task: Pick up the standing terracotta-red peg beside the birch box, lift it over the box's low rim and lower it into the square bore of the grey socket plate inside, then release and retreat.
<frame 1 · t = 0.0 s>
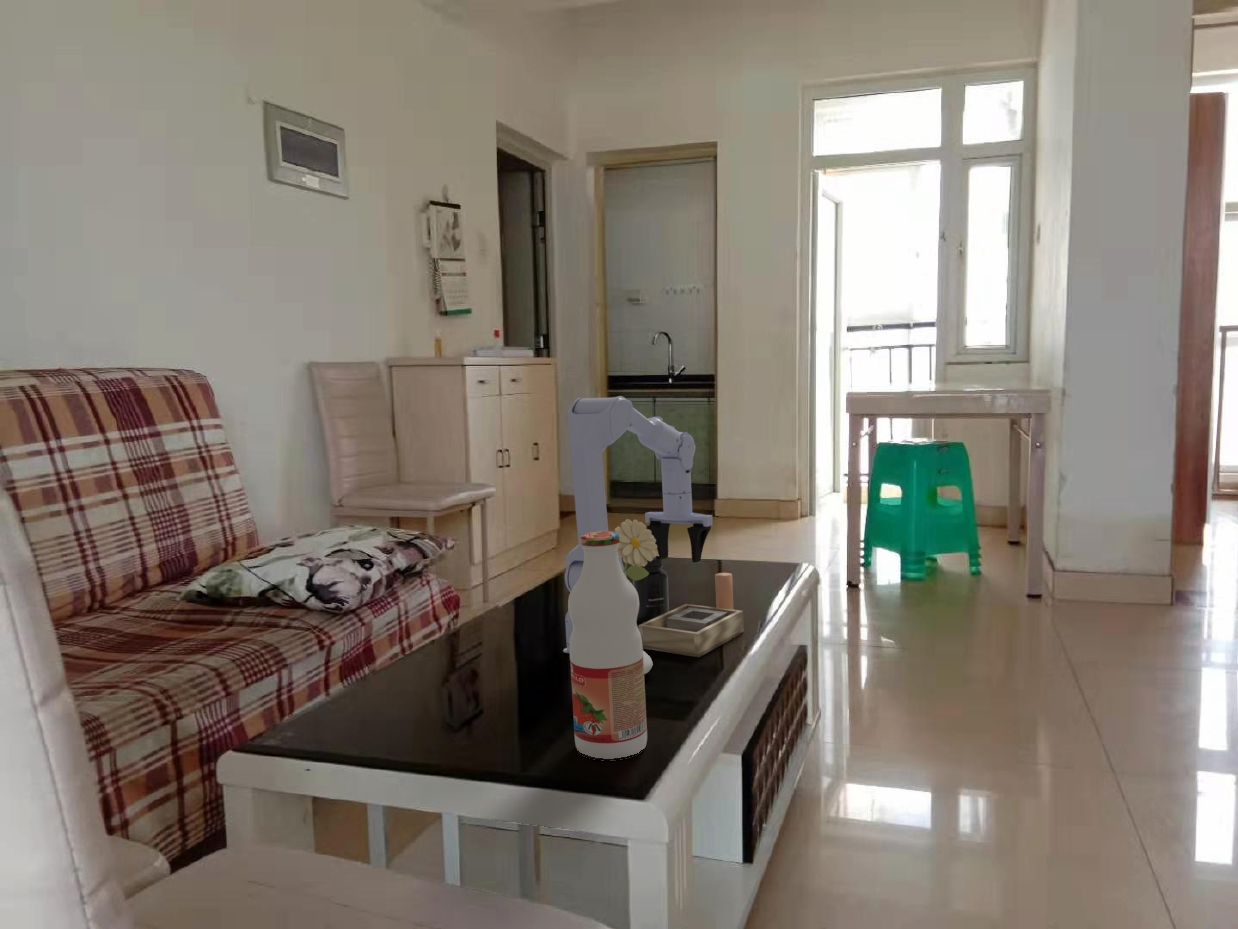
hand: (680, 559, 185), 10 cm above the table, tool pointing down, fingers open, 7 cm apart
box: (692, 640, 165), on the table
peg: (725, 621, 176), on the table
fruit juice: (611, 748, 121), on the table
flower in vase: (622, 676, 149), on the table
supplement bottle: (652, 619, 181), on the table
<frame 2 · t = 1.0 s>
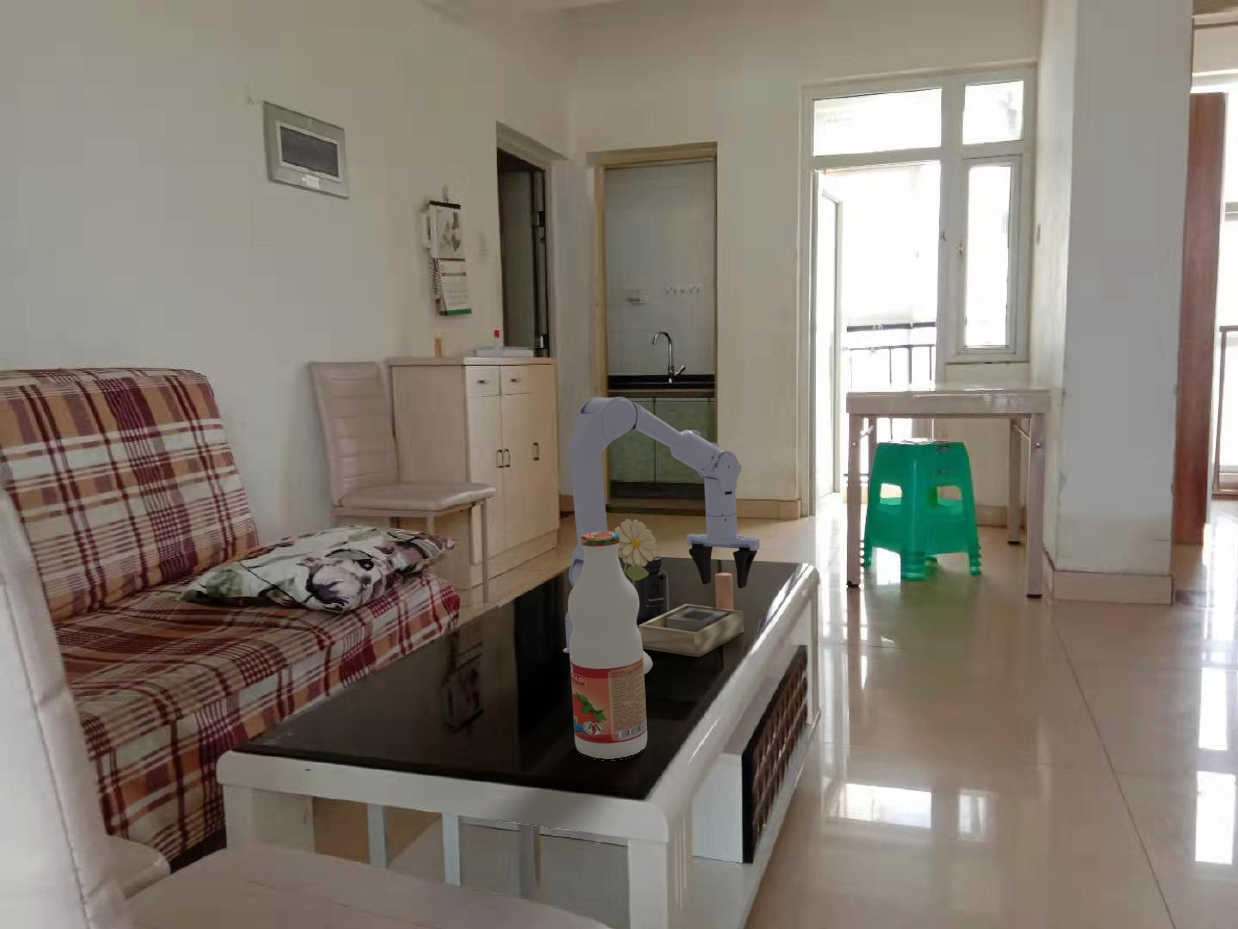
hand: (724, 585, 175), 7 cm above the table, tool pointing down, fingers open, 7 cm apart
nothing on the table moved.
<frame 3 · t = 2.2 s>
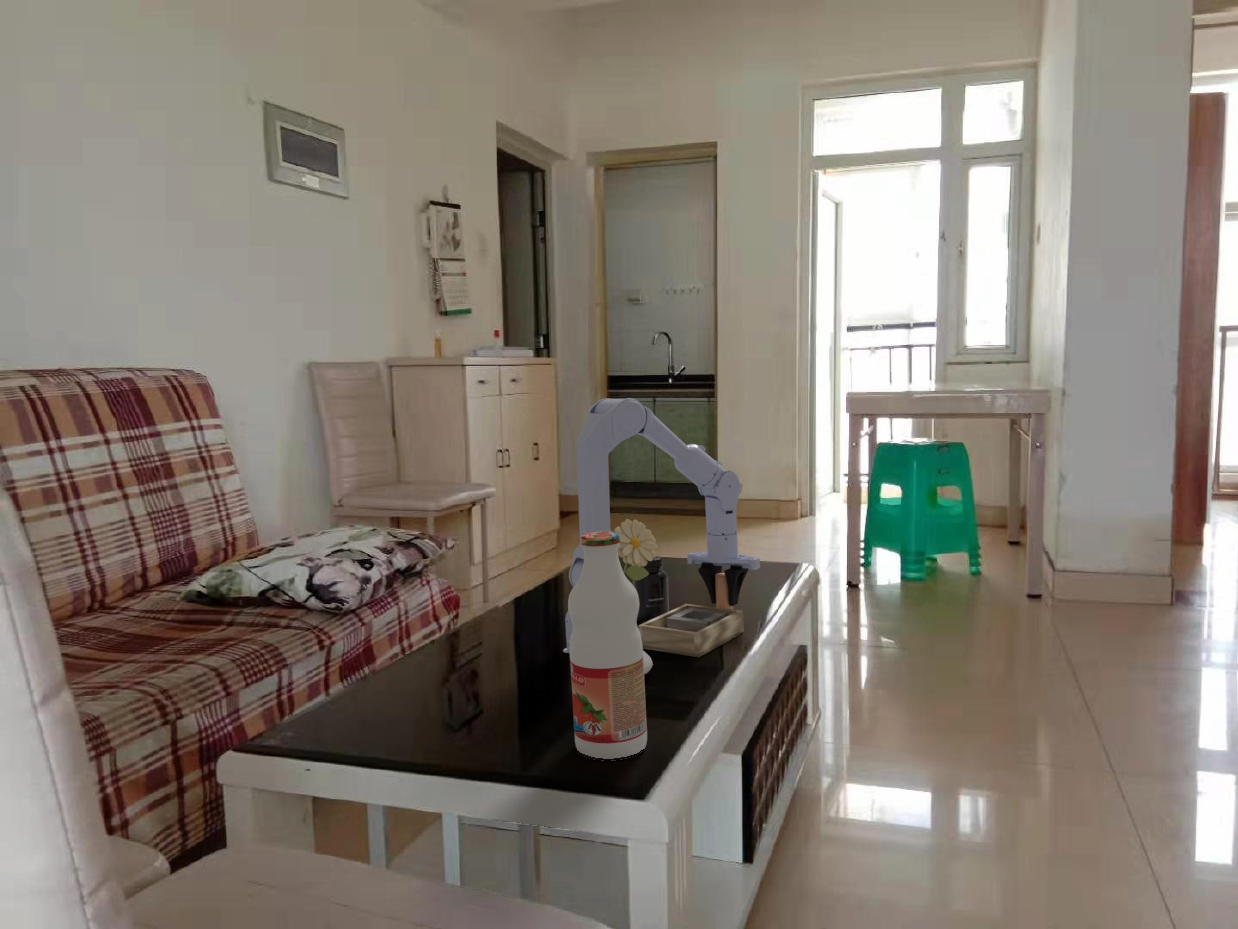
hand: (724, 603, 176), 3 cm above the table, tool pointing down, fingers closed on peg, 3 cm apart
peg: (725, 621, 176), on the table, touching gripper
everything else where it was.
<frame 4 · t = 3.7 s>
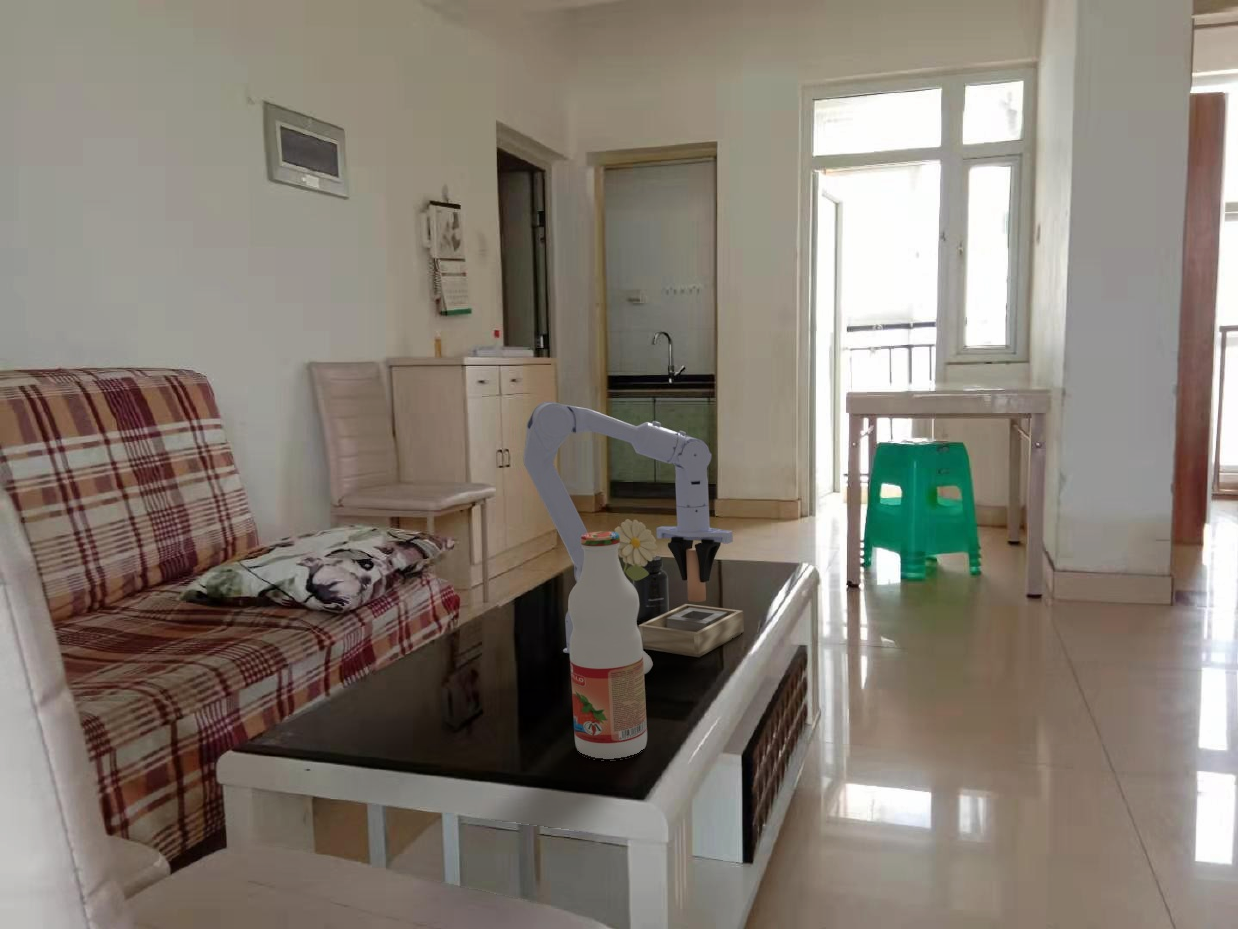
hand: (695, 580, 166), 10 cm above the table, tool pointing down, fingers closed on peg, 3 cm apart
peg: (696, 599, 166), point 7 cm above the table, touching gripper
everything else where it was.
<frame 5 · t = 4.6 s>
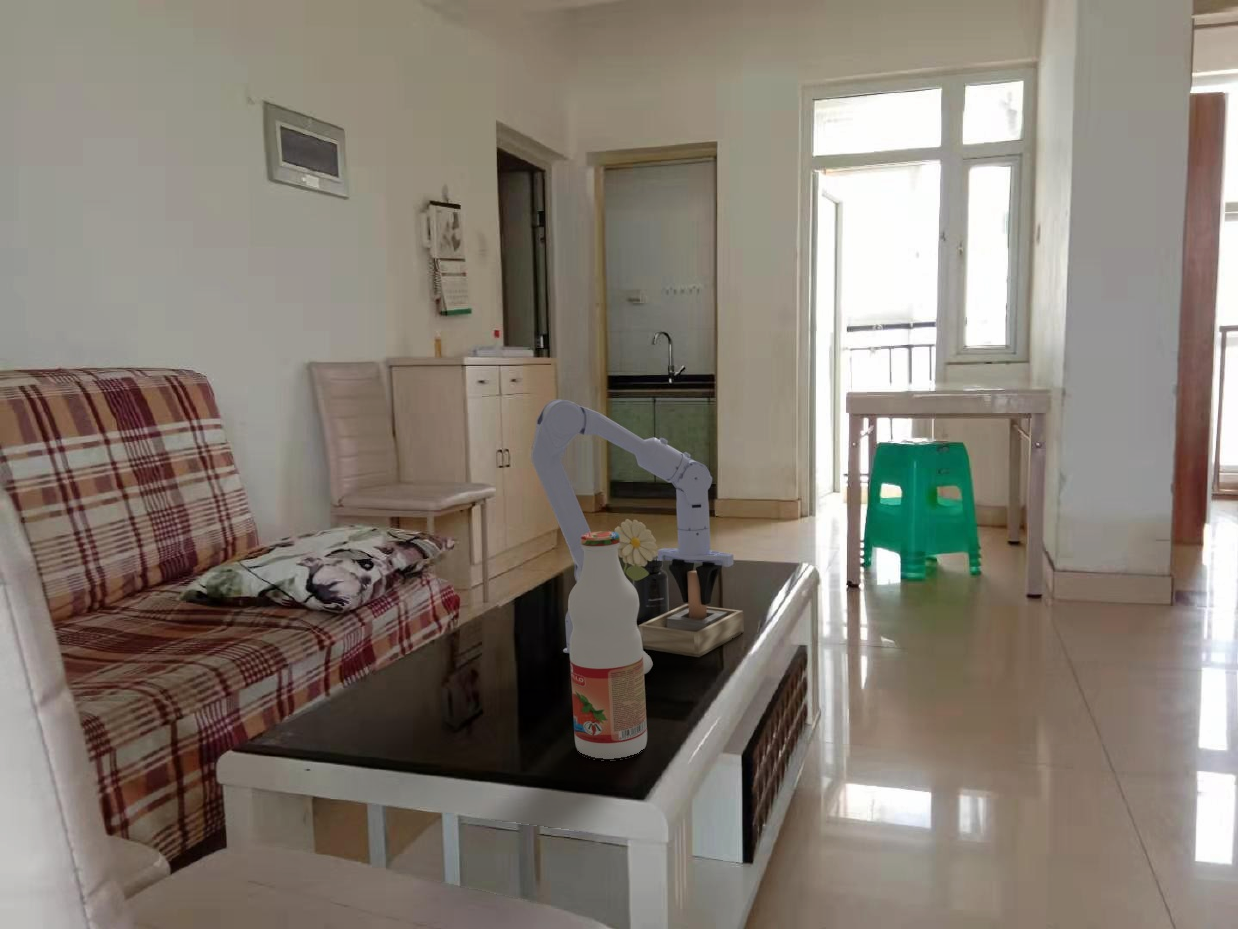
hand: (696, 602, 166), 6 cm above the table, tool pointing down, fingers closed on peg, 3 cm apart
peg: (698, 621, 167), point 3 cm above the table, touching gripper
everything else where it was.
when the fingers open (5 cm above the table, at t = 5.3 s): peg stays where it is, resting on box.
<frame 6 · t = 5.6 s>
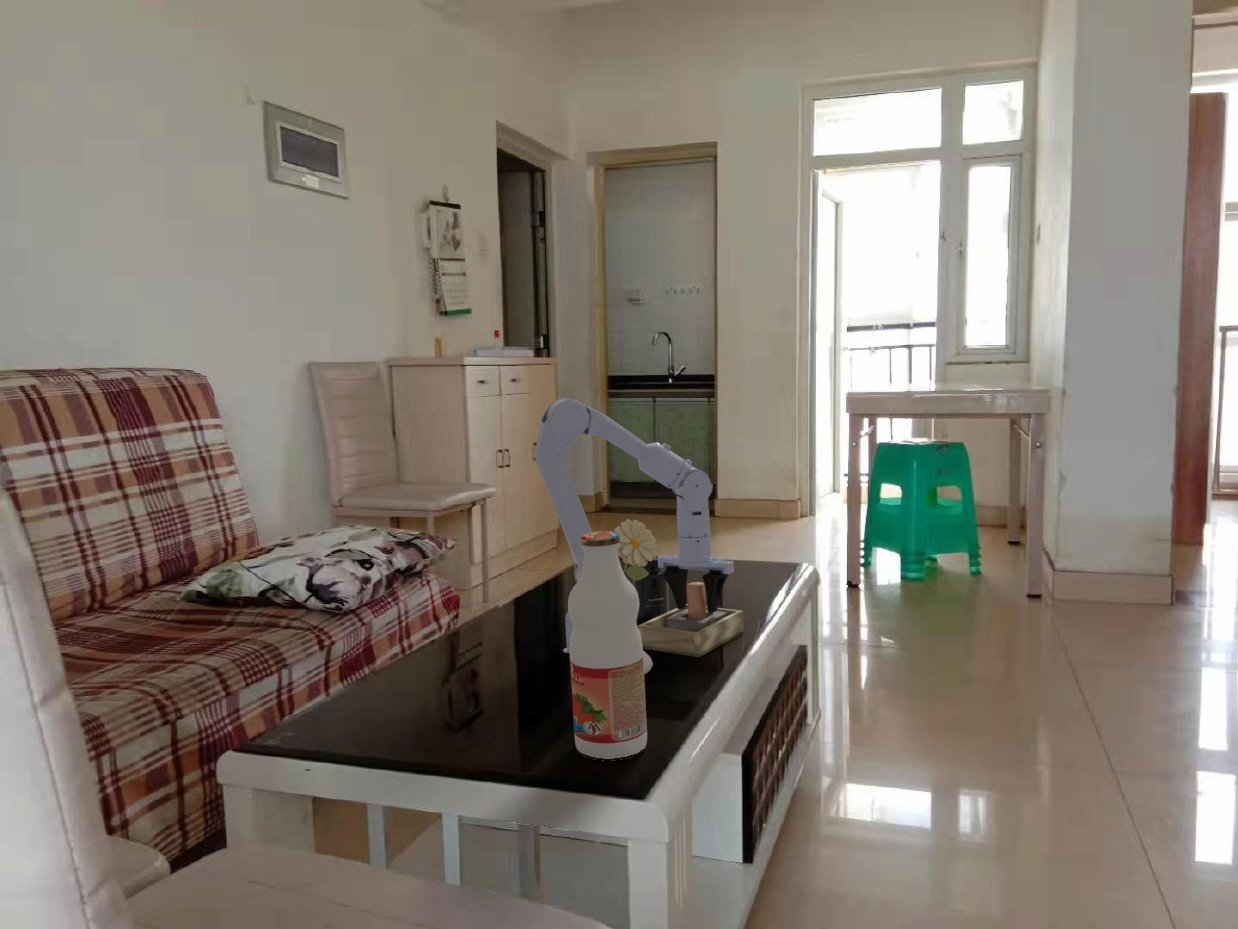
hand: (697, 609, 166), 5 cm above the table, tool pointing down, fingers open, 6 cm apart
peg: (698, 633, 167), point 1 cm above the table, touching box
everything else where it was.
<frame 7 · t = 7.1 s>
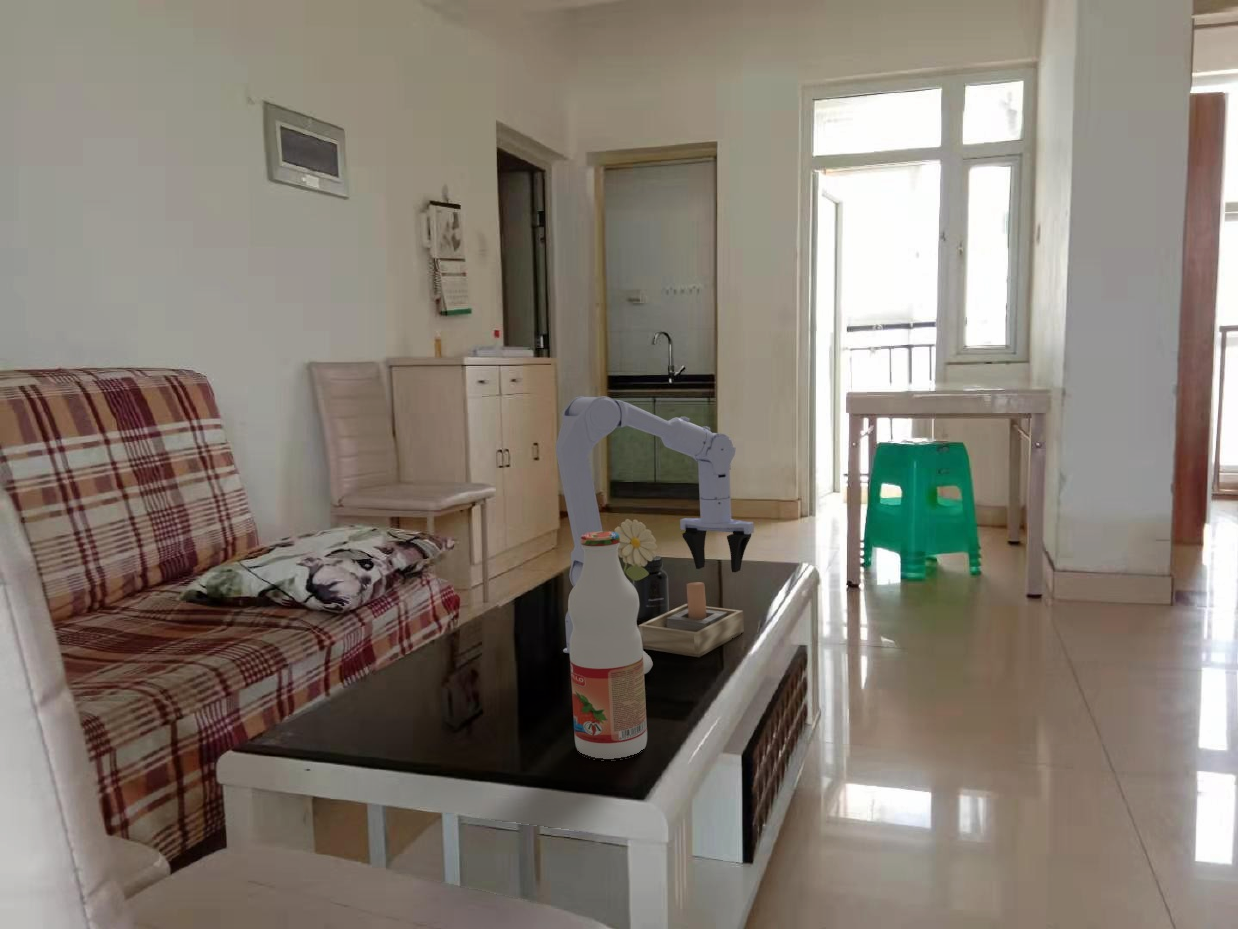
hand: (718, 569, 173), 10 cm above the table, tool pointing down, fingers open, 7 cm apart
nothing on the table moved.
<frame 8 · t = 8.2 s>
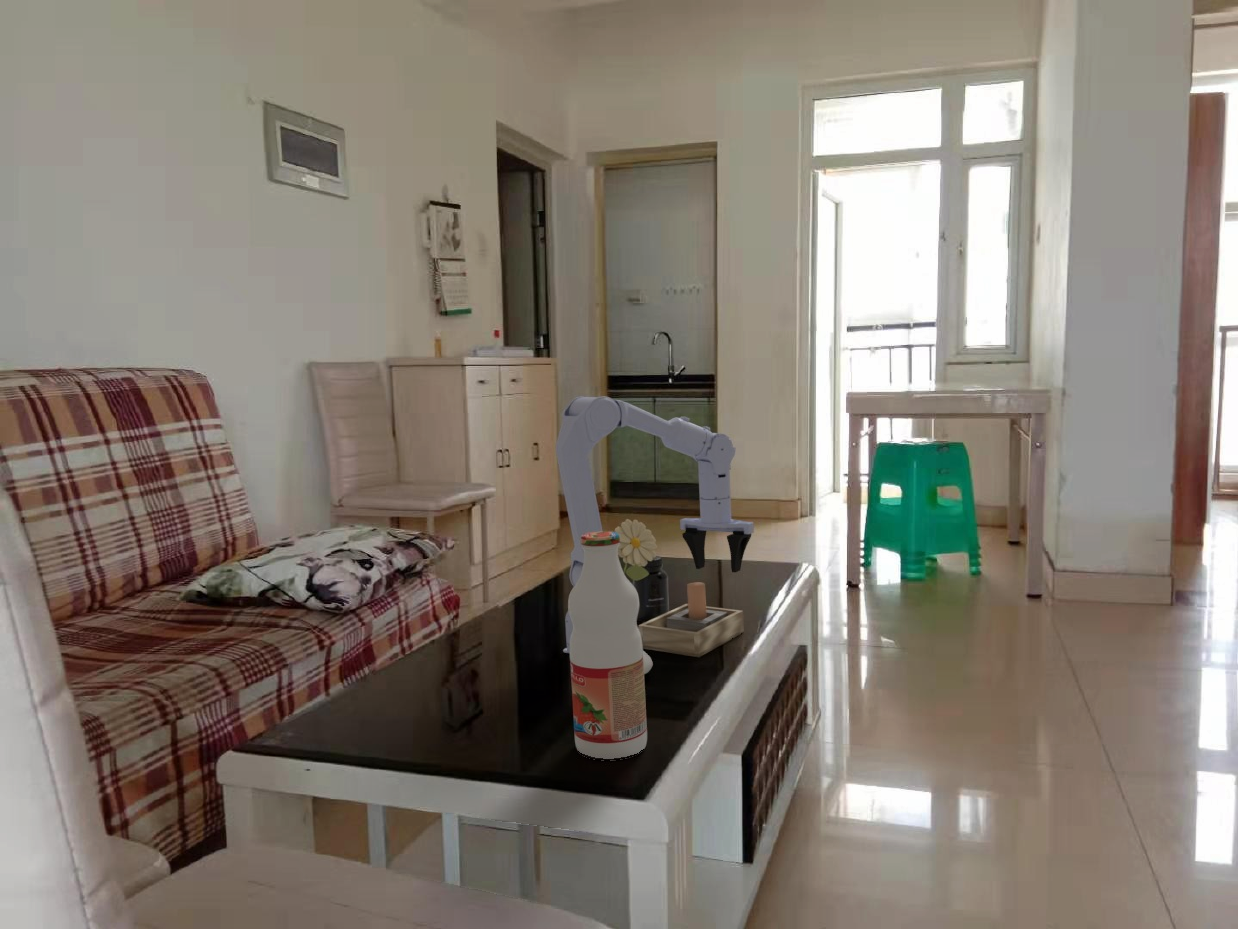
hand: (718, 569, 173), 10 cm above the table, tool pointing down, fingers open, 7 cm apart
nothing on the table moved.
at the end: peg 0.1 cm from the target spot, point 0.6 cm above the table; peg tilted 1°; the gripper is holding nothing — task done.
